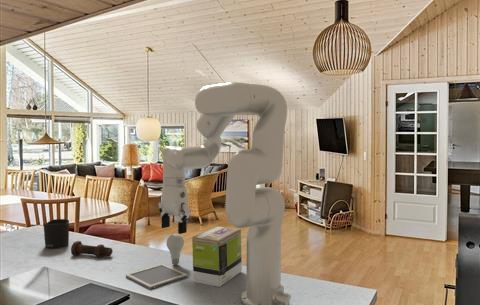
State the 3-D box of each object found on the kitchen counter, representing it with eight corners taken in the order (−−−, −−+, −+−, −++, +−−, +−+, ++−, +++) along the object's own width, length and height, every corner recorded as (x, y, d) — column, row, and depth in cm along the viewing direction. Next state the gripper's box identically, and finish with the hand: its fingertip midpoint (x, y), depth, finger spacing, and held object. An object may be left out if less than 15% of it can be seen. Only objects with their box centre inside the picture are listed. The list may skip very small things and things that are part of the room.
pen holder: (41, 245, 163) (40, 221, 163) (65, 241, 169) (64, 218, 169) (47, 250, 156) (47, 225, 155) (72, 246, 162) (72, 222, 161)
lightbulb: (180, 268, 136) (180, 236, 136) (163, 267, 137) (163, 236, 137) (186, 262, 142) (186, 232, 142) (170, 261, 143) (170, 231, 143)
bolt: (109, 262, 148) (73, 258, 151) (115, 252, 152) (80, 248, 155) (105, 251, 145) (68, 247, 148) (112, 241, 149) (76, 238, 152)
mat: (187, 276, 129) (187, 274, 129) (150, 289, 119) (150, 286, 119) (162, 266, 138) (162, 263, 138) (125, 277, 128) (125, 274, 128)
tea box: (216, 267, 138) (216, 225, 137) (242, 272, 133) (242, 228, 132) (191, 282, 124) (191, 235, 124) (219, 288, 120) (219, 239, 119)
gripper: (198, 183, 135) (197, 233, 136) (168, 178, 147) (168, 223, 148) (180, 186, 129) (180, 237, 131) (150, 179, 142) (150, 227, 143)
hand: (173, 230), depth 140 cm, fingers open, 9 cm apart
